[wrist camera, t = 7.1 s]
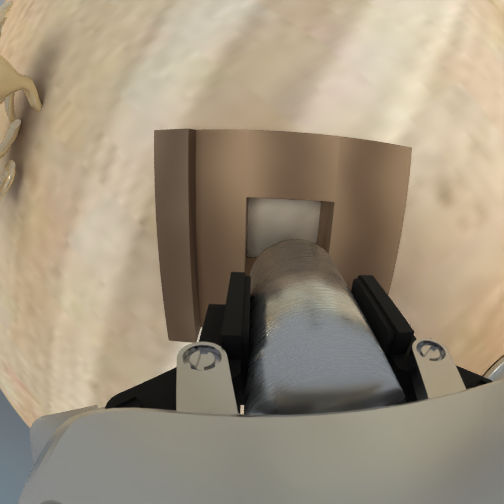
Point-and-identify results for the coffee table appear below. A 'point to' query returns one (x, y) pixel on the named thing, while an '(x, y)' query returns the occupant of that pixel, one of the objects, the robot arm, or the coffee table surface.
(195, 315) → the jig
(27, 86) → the unicorn
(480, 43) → the coffee table surface
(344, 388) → the blue-grey domed cylinder
